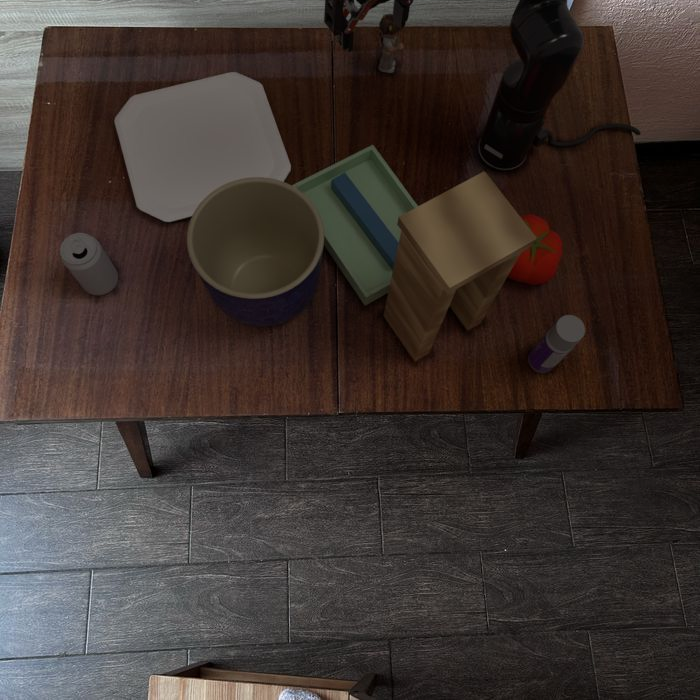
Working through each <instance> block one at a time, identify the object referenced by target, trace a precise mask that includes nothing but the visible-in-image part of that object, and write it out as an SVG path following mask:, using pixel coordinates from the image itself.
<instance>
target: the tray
mask: <svg viewBox="0 0 700 700" xmlns="http://www.w3.org/2000/svg"><path fill="white" fill-rule="evenodd" d="M343 173H346V174H347V176H348V177H349V178H350V180H351V181H352V182H353V184H354V185H355V186H356V188H357V189H358V190H359V191H360V193H361V194H362V195H363V197H364V198H365V199H366V201H367V202H368V203H369V205H370V206H371V207H372V208H373V210H374V211H375V212H376V214H377V215H378V216H379V218H380V219H381V220H382V222H383V223H384V224H385V225H386V227H387V228H388V229H389V231H390V232H391V233H392V235H393V236H394V237H395V239H396V240H397V241H398V242H399V238H400V234H401V229H400V228H399V226H398V225H397V223H398V217H399V216H401V215H403V214H405V213H407V212H409V211H411V210H412V209H414V208H416V207H418V206H419V205H418V204H417V203H416V201H415V200H414V199H413V197H412V196H411V194H410V193H409V192H408V190H407V189H406V188H405V186H404V185H403V184H402V182H401V181H400V179H399V178H398V176H397V175H396V174H395V172H394V171H393V170H392V168H391V167H390V166H389V164H388V163H387V162H386V160H385V159H384V158H383V156H382V155H381V153H380V152H379V151H378V149H377V148H376V147H375V146H374V144H371V145H370V146H367V147H365V148H363V149H361V150H359V151H357V152H356V153H353V154H351V155H350V156H347V157H345V158H344V159H341V160H339V161H338V162H336V163H333V164H332V165H330V166H328V167H326V168H324V169H321V170H320V171H318V172H315V173H313V174H312V175H309V176H308V177H305V178H303V179H302V180H300V181H298V182H295V183H293V184H292V186H293V187H295V188H297V189H298V190H300V191H301V192H302V193H304V194H305V195H306V196H307V197H308V198H309V199H310V200H311V202H312V203H313V204H314V206H315V207H316V209H317V210H318V212H319V214H320V217H321V220H322V223H323V227H324V247H325V249H326V250H327V252H328V253H329V255H330V256H331V258H332V259H333V261H334V262H335V264H336V265H337V267H338V268H339V270H340V271H341V272H342V274H343V275H344V277H345V279H346V280H347V282H348V283H349V284H350V286H351V287H352V289H353V291H354V292H355V293H356V295H357V297H358V298H359V300H360V301H361V303H362V304H363V305H364V306H367V305H369V304H371V303H372V302H374V301H376V300H378V299H380V298H381V297H383V296H385V295H386V294H387V295H388V291H389V286H390V282H391V277H392V272H393V270H392V269H391V268H390V266H389V265H388V264H387V262H386V261H385V260H384V258H383V257H382V256H381V254H380V253H379V252H378V250H377V249H376V248H375V246H374V245H373V244H372V242H371V241H370V240H369V239H368V237H367V236H366V235H365V233H364V232H363V231H362V229H361V228H360V227H359V225H358V224H357V223H356V221H355V220H354V219H353V217H352V216H351V215H350V213H349V212H348V211H347V209H346V208H345V207H344V205H343V204H342V203H341V201H340V200H339V199H338V197H337V196H336V195H335V193H334V192H333V191H332V189H331V180H332V179H334V178H336V177H338V176H339V175H341V174H343Z"/></svg>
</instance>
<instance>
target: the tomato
mask: <svg viewBox="0 0 700 700" xmlns="http://www.w3.org/2000/svg"><path fill="white" fill-rule="evenodd" d="M519 216H520V217H521V218H522V220H523V221H524V222H525V224H526V225H527V226H528V227H529V229H530V230H531V231H532V233H533V234H534V235H535V236H536V238H537V239H536V241H535V243H534V244H533V246H531V247H529V248H528V249H526V250H524V251H522V252H521V254H520V255H519V257H518V259H517V261H516V262H515V264H514V266H513V268H512V269H511V271H510V273H509V275H508V276H507V279H510V280H513V281H514V282H518V283H525V284H528V285H531V286H538V285H543V284H545V283H547V282H549V281H550V280H552V279H553V278H554V277H555V275H556V274H557V270H558V266H559V263H560V261H561V259H562V256H563V241H562V239H561V236H560V234H559V233H557V232H556V231H554V230H552V229H551V228H550V225H549V224H548V221H547V220H545V219H544V218H542V217H540V216H538V215H534V214H530V213H528V214H524V215H519Z"/></svg>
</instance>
